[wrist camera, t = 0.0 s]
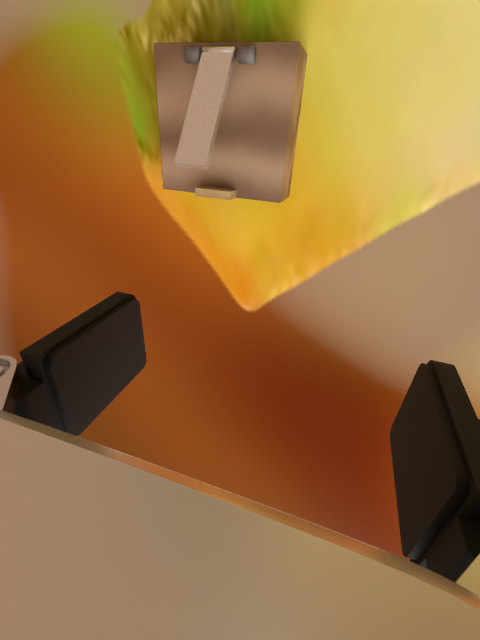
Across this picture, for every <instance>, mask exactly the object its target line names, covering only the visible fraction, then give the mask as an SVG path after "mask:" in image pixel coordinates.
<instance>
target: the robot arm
mask: <svg viewBox="0 0 480 640" xmlns="http://www.w3.org/2000/svg"><path fill="white" fill-rule="evenodd" d="M20 355H21V357H22V360H23V361H22V362H21V363H19V364H17V362H16V360H15V359H14V358H12V357H10V356H3V355H0V640H480V419H478V418H477V416H476V414H475V411H474V409H473V407H472V405H471V402H470V400H469V397H468V395H467V393H466V391H465V388H464V386H463V384H462V381H461V379H460V377H459V374H458V372H457V370H456V368H455V366H454V365H451V364H446V363H442V362H438V361H433V360H430V361H429V362H428V363H427V364H423V363H422V364H420V366H419V367H418V370H417V372H416V374H415V376H414V379H413V381H412V383H411V385H410V387H409V390H408V392H407V394H406V396H405V398H404V401H403V403H402V405H401V407H400V409H399V412H398V414H397V416H396V419H395V421H394V423H393V425H392V428H391V432H390V442H391V452H392V461H393V470H394V480H395V489H396V497H397V508H398V517H399V526H400V535H401V544H402V552H403V555H404V556H405V557H407V558H410V561H408V560H406V559H403V558H401V557H399V556H396V555H394V554H391V553H389V552H386V551H384V550H381V549H378V548H376V547H374V546H371V545H368V544H366V543H363V542H361V541H358V540H356V539H353V538H351V537H348V536H345V535H343V534H340V533H337V532H335V531H333V530H330V529H327V528H325V527H322V526H320V525H317V524H314V523H312V522H309V521H306V520H303V519H301V518H298V517H296V516H293V515H290V514H287V513H285V512H282V511H279V510H277V509H274V508H271V507H269V506H266V505H263V504H260V503H258V502H255V501H252V500H250V499H247V498H244V497H242V496H239V495H236V494H234V493H231V492H228V491H226V490H223V489H220V488H217V487H215V486H212V485H209V484H206V483H204V482H201V481H198V480H195V479H193V478H190V477H187V476H185V475H182V474H179V473H176V472H174V471H171V470H168V469H166V468H163V467H160V466H157V465H155V464H152V463H149V462H146V461H144V460H141V459H138V458H136V457H132V456H130V455H127V454H125V453H122V452H119V451H116V450H114V449H111V448H108V447H105V446H102V445H100V444H97V443H94V442H91V441H88V440H86V439H83V438H80V437H77V436H78V435H80V434H81V433H82V432H83V431H84V430H85V428H87V427H88V426H89V425H90V424H91V422H92V421H93V420H94V419H95V418H96V417H97V416H98V415H99V414H100V413H101V412H102V411H103V410H104V409H105V408H106V407H107V406H108V405H109V404H110V403H111V401H113V399H114V398H115V397H116V396H117V395H118V394H119V393H120V392H121V391H122V390H123V389H124V388H125V387H126V386H127V385H128V384H129V383H130V382H131V381H132V380H133V379H134V377H135V376H136V375H137V374H138V373H139V372H140V371H141V370H142V369H143V368H144V366H145V364H146V352H145V344H144V336H143V328H142V320H141V311H140V304H139V301H138V300H136V298H135V296H134V295H131V294H127V293H122V292H117V293H114V294H113V295H111V296H110V297H108V298H106V299H105V300H103V301H102V302H100V303H98V304H97V305H95V306H93V307H92V308H90V309H89V310H87V311H85V312H84V313H82V314H80V315H79V316H77V317H76V318H74V319H72V320H71V321H69V322H68V323H66V324H64V325H63V326H61V327H59V328H58V329H56V330H55V331H53V332H51V333H50V334H48V335H46V336H45V337H43V338H42V339H40V340H39V341H37V342H35V343H34V344H32V345H30V346H29V347H27V348H25V349H24V350H22V351H21V352H20Z"/></svg>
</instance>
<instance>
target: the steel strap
mask: <svg viewBox="0 0 480 640" xmlns="http://www.w3.org/2000/svg"><path fill="white" fill-rule="evenodd" d="M235 58H236V47H235V46H231V47H203V48H202V54H201V58H200V62H199V66H198V70H197V74H196V78H195V82H194V86H193V90H192V94H191V98H190V102H189V106H188V110H187V114H186V118H185V122H184V125H183V129H182V133H181V137H180V141H179V145H178V149H177V153H176V157H175V161H174V163H175V165H176V166H177V167H185V168H195V169H205V170H208V166H209V162H210V158H211V154H212V150H213V146H214V142H215V138H216V134H217V130H218V126H219V122H220V118H221V113H222V109H223V105H224V101H225V97H226V93H227V89H228V85H229V81H230V77H231V73H232V69H233V65H234V61H235Z"/></svg>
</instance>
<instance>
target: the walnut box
mask: <svg viewBox="0 0 480 640" xmlns="http://www.w3.org/2000/svg"><path fill="white" fill-rule="evenodd" d="M231 46H235V47H236V58H235V61H234V65H233V69H232V73H231V77H230V81H229V85H228V89H227V93H226V97H225V101H224V105H223V109H222V113H221V118H220V122H219V126H218V130H217V134H216V138H215V142H214V146H213V150H212V154H211V158H210V162H209V166H208V170H205V169H195V168H185V167H177V166H176V165H175V163H174V161H175V157H176V153H177V149H178V145H179V141H180V137H181V133H182V129H183V125H184V122H185V118H186V114H187V110H188V106H189V102H190V98H191V94H192V90H193V86H194V82H195V78H196V74H197V70H198V66H199V62H200V58H201V54H202V48H203V47H231ZM154 54H155V69H156V85H157V100H158V116H159V131H160V146H161V162H162V177H163V189H168V190H177V191H185V192H194V193H195V195H196V196H201V197H210V198H218V199H226V200H231V199H234V198H244V199H252V200H261V201H269V202H278V203H281V202H282V201H283V200H284V199H286V198H287V197H288V196H289V191H290V184H291V176H292V168H293V161H294V153H295V145H296V138H297V130H298V122H299V114H300V107H301V99H302V91H303V84H304V76H305V68H306V61H307V54H306V52H305V51H304V49H303V47H302V46H301V44H300V42H203V43H154Z"/></svg>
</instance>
